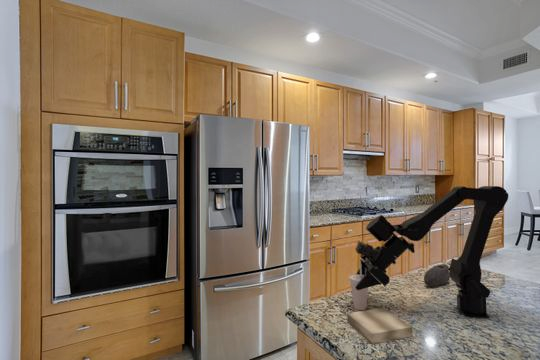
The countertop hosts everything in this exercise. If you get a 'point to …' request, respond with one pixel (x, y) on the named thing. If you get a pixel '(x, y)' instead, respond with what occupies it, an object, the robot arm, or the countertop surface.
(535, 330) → the countertop surface
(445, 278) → the perforated stone tool
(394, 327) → the plinth
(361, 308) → the smoothie
